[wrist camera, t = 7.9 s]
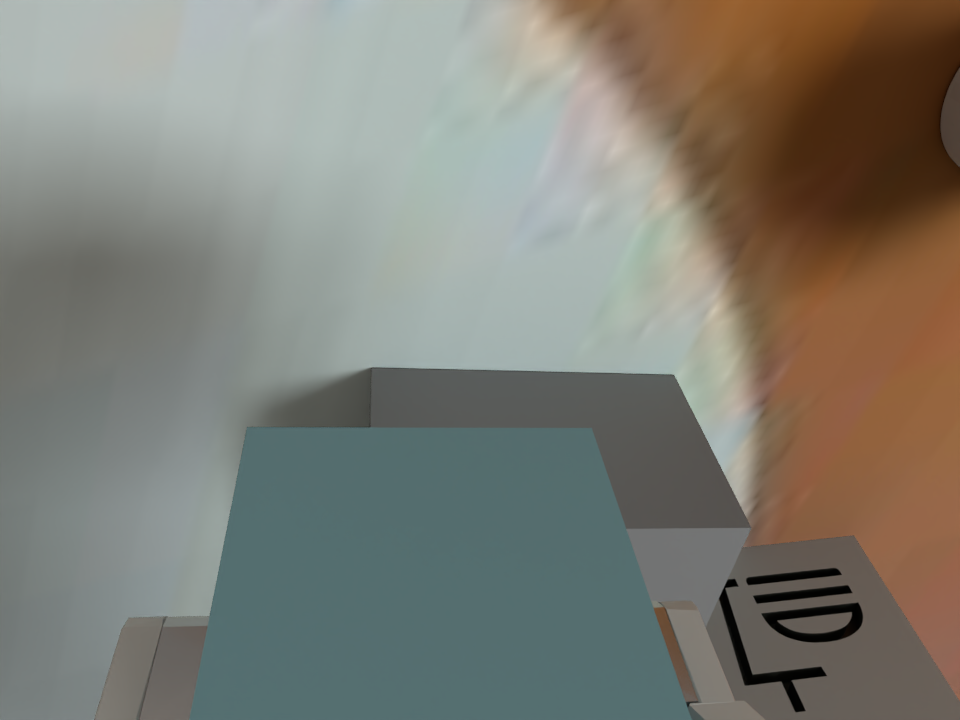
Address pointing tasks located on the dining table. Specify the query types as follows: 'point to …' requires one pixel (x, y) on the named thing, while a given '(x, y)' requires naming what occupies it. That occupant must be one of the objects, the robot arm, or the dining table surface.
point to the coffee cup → (952, 120)
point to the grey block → (624, 450)
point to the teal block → (430, 582)
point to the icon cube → (822, 638)
